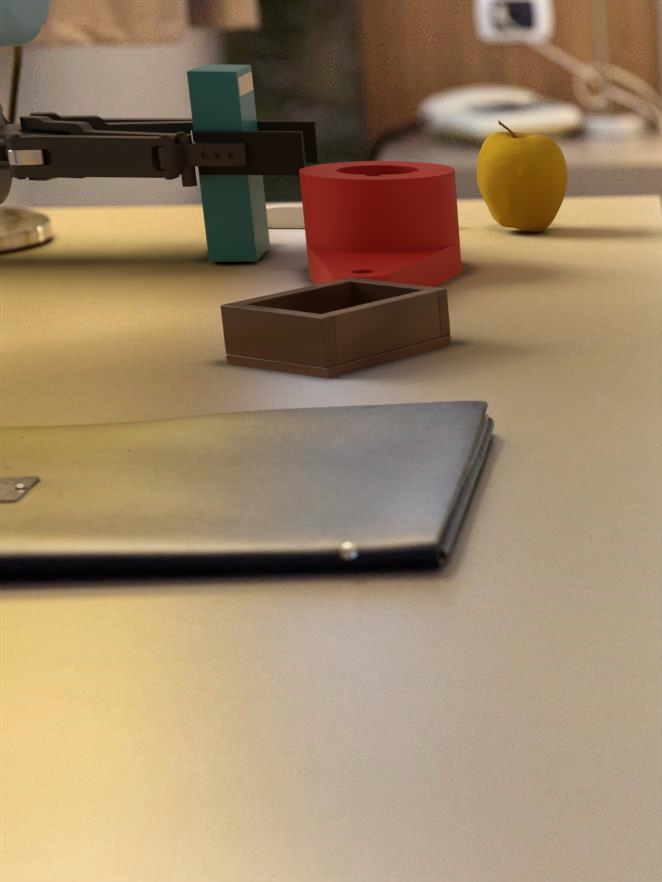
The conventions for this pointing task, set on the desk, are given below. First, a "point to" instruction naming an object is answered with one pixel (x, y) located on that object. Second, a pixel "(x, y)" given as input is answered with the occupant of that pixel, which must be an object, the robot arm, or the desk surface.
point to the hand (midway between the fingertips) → (309, 147)
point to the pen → (285, 216)
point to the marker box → (229, 196)
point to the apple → (522, 179)
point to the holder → (335, 326)
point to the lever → (381, 221)
